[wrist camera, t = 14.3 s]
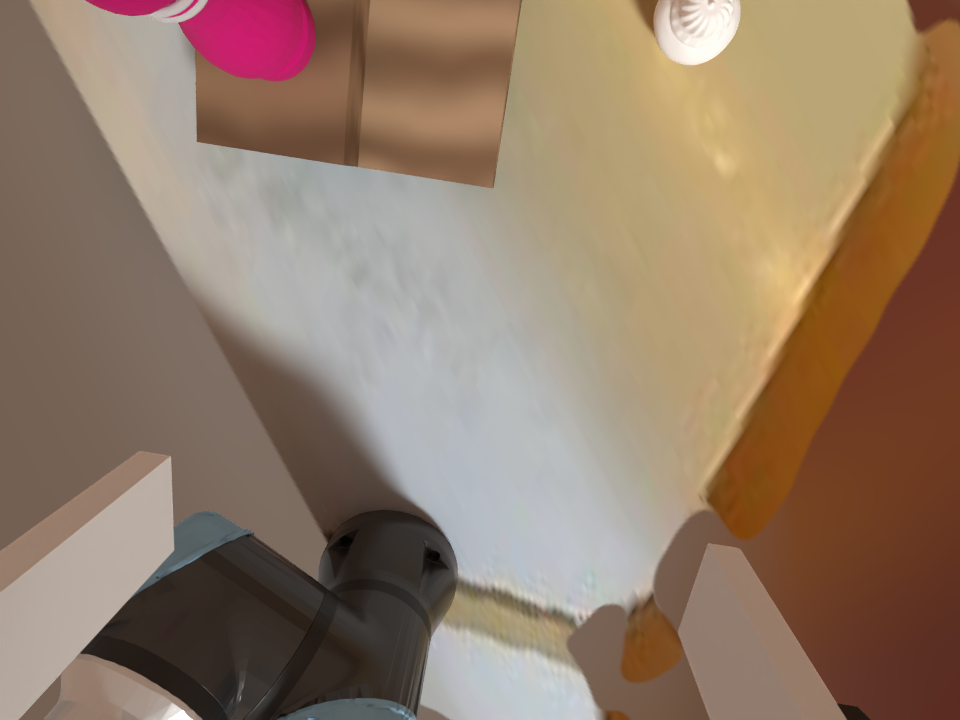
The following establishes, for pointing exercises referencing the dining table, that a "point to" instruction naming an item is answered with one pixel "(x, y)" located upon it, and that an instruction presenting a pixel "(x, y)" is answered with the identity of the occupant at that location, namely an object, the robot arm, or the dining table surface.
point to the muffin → (695, 28)
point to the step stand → (379, 90)
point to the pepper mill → (237, 32)
